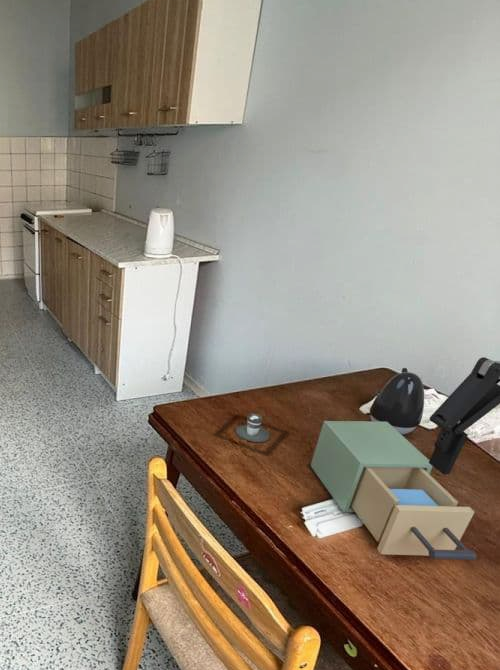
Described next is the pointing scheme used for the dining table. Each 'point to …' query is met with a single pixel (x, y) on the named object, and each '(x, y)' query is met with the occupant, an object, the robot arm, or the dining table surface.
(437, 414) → the robot arm
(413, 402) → the black bell
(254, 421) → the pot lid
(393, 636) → the dining table surface
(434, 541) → the drawer
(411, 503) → the blue cuboid
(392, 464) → the cabinet
